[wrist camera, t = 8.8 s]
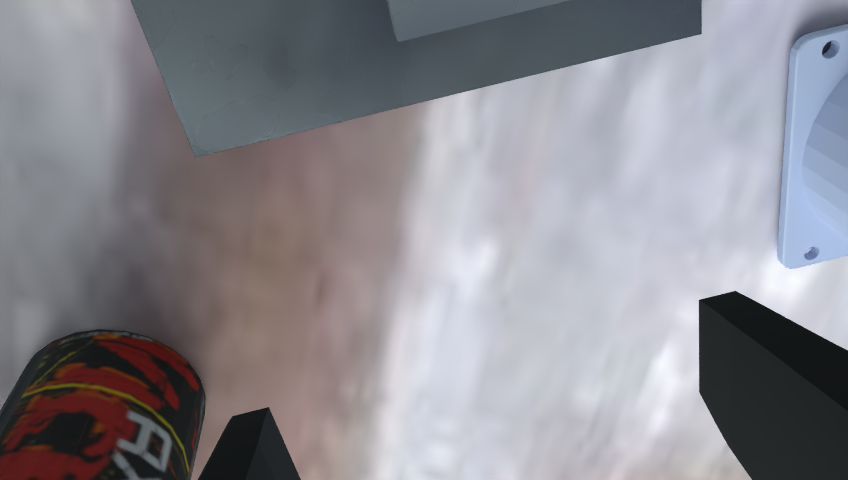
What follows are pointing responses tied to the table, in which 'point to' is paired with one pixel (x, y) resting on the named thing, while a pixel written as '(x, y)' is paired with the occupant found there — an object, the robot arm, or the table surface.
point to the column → (451, 14)
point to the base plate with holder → (366, 57)
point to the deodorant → (102, 412)
